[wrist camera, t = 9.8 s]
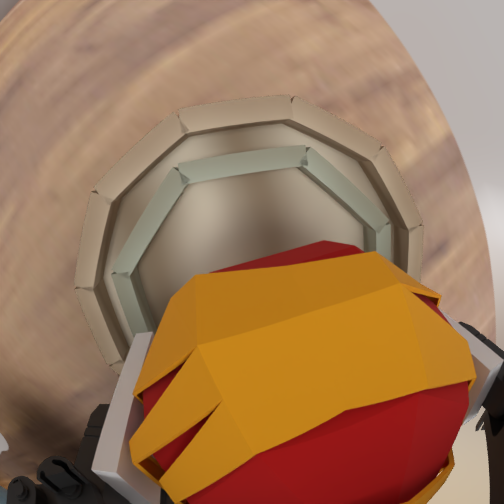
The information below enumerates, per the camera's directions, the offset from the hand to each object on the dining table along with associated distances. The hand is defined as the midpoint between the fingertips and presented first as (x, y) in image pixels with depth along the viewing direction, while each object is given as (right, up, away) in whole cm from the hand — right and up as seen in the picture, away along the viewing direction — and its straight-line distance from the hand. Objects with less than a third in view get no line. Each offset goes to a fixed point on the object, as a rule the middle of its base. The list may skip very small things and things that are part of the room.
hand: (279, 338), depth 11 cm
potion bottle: (0, +1, +3) cm, 3 cm away
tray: (-1, +2, +6) cm, 6 cm away
